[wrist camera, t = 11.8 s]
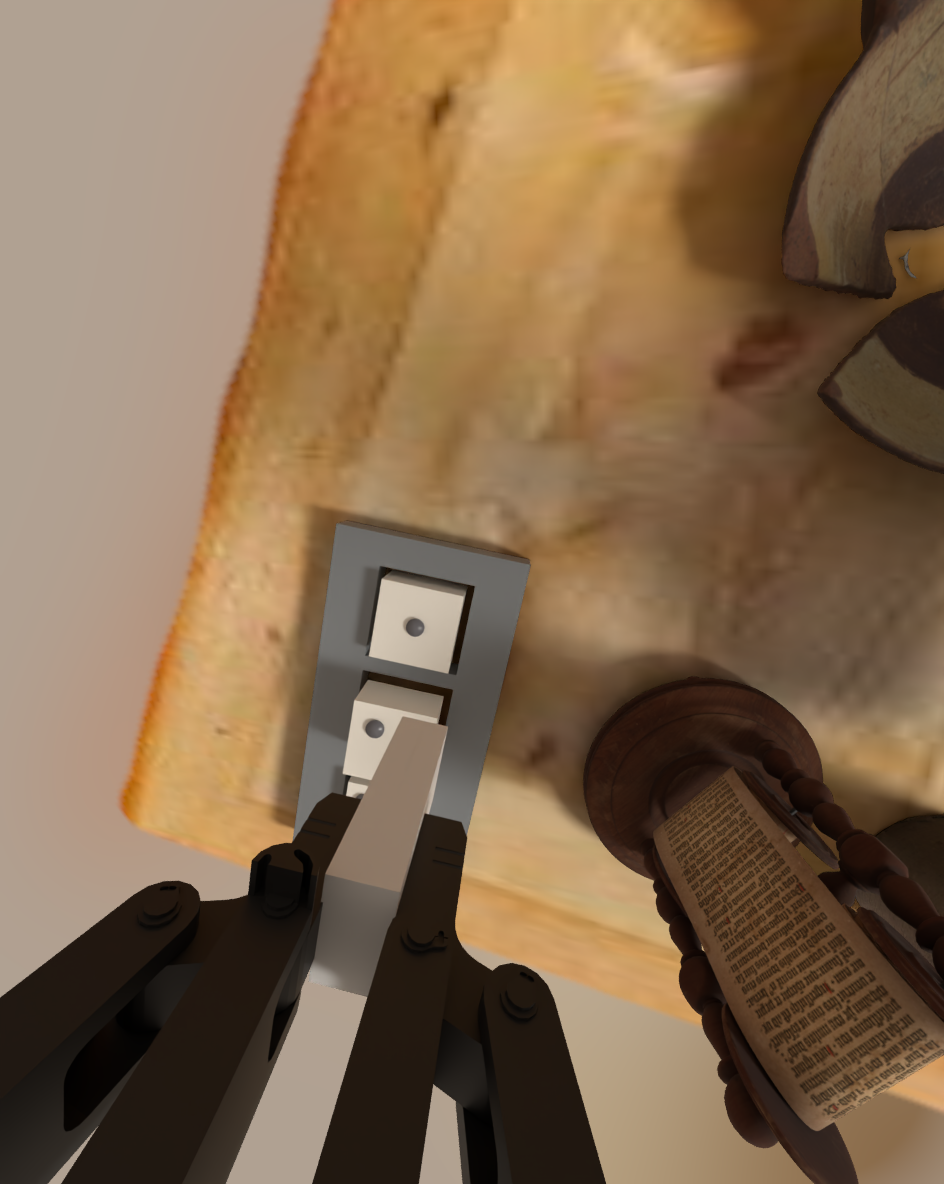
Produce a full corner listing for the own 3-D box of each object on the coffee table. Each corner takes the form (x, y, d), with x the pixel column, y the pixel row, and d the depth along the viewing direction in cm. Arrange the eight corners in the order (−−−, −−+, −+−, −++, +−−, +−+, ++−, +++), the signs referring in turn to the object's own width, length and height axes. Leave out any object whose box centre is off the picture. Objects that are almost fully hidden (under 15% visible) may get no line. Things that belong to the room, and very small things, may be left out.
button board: (346, 520, 32) (336, 523, 30) (529, 559, 32) (530, 565, 30) (302, 831, 38) (291, 851, 36) (457, 867, 38) (454, 888, 36)
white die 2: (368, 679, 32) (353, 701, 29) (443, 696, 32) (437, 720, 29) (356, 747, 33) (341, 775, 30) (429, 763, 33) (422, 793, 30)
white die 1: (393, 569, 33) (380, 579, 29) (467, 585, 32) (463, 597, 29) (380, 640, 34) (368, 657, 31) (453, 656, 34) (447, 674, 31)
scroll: (692, 624, 32) (971, 852, 13) (847, 765, 34) (1310, 1161, 14) (536, 772, 35) (571, 1133, 16) (684, 895, 37) (880, 1362, 17)
